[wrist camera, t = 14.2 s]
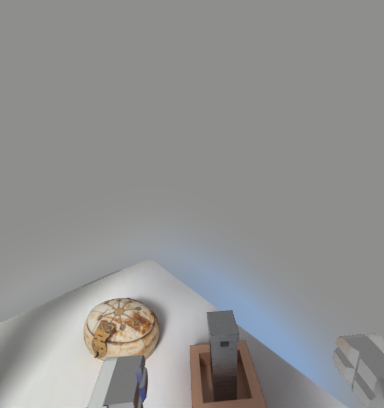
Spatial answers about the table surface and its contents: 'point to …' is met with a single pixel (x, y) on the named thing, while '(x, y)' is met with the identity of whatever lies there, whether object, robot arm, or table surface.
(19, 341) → the table surface
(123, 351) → the trinket box
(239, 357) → the holder
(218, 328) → the grey chimney stack
